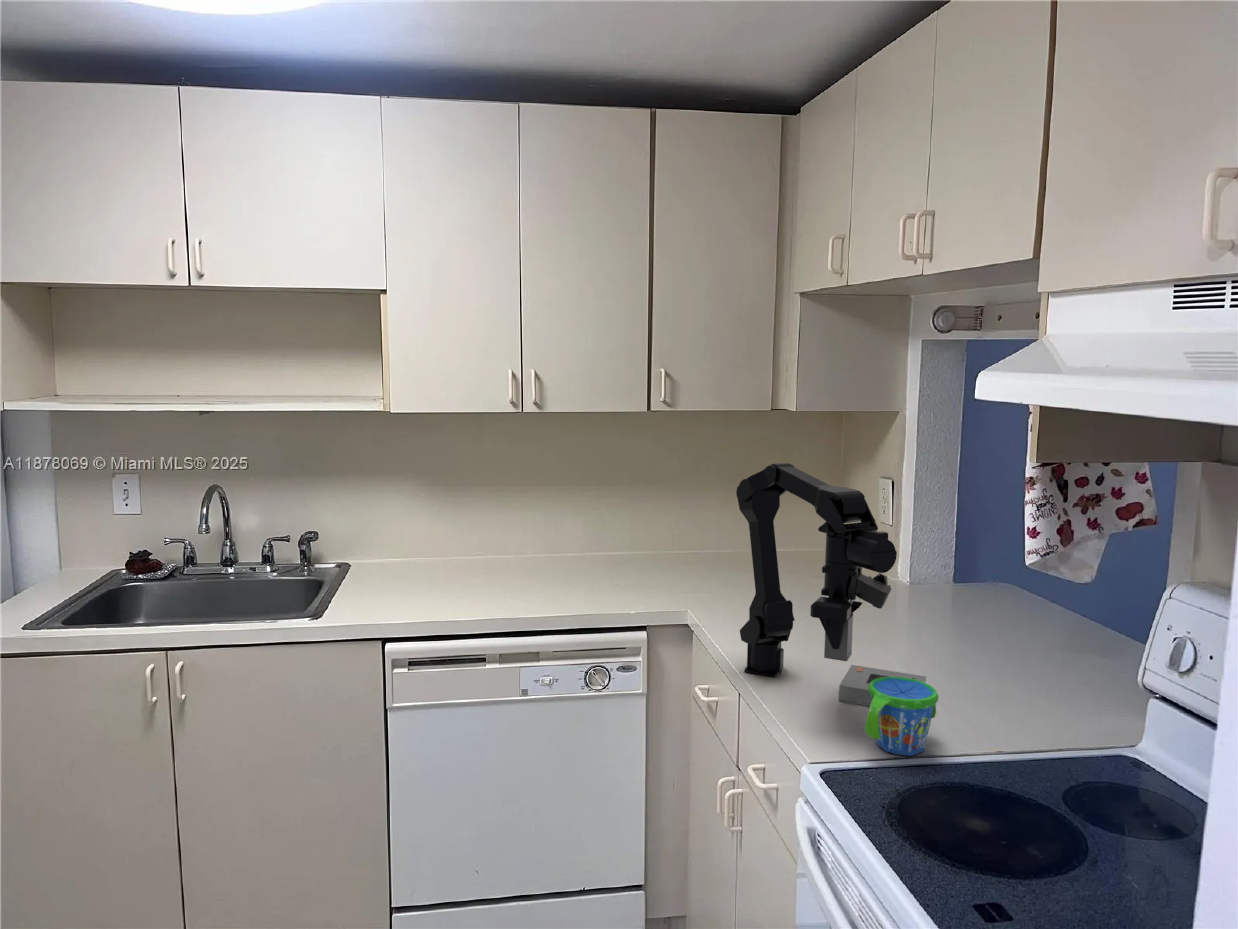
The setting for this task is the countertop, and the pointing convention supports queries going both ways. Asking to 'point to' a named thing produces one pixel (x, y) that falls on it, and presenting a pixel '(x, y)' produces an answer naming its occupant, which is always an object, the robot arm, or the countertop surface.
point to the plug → (841, 644)
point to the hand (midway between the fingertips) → (838, 645)
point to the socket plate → (866, 683)
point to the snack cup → (900, 714)
